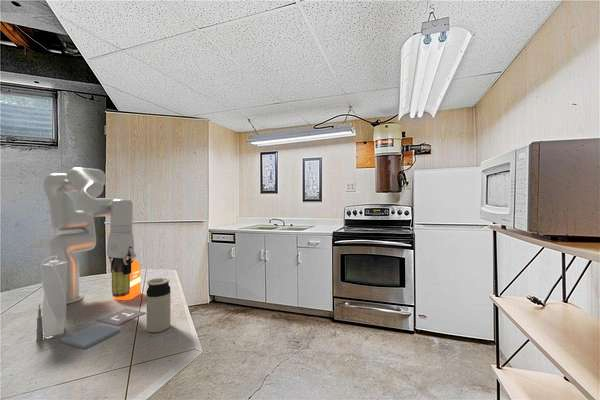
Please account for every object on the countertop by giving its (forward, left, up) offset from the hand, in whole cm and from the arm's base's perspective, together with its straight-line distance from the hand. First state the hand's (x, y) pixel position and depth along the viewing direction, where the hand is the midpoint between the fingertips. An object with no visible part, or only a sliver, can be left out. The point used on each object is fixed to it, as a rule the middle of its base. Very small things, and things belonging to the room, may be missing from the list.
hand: (121, 272), depth 111 cm
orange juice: (-18, +17, -18) cm, 31 cm away
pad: (+6, -15, -18) cm, 24 cm away
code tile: (+1, 0, -18) cm, 18 cm away
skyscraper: (-10, -18, -19) cm, 28 cm away
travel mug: (+23, -2, -18) cm, 29 cm away
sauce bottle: (0, 0, -10) cm, 10 cm away
